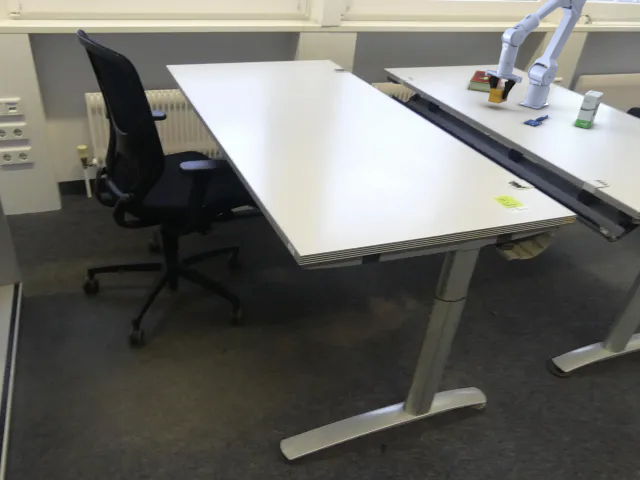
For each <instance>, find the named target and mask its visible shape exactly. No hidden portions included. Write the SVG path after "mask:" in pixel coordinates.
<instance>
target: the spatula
mask: <svg viewBox="0 0 640 480" xmlns="http://www.w3.org/2000/svg"><path fill="white" fill-rule="evenodd" d="M547 118H549V114H544V115H543V116H540V117H537V118H536V119H532V118H531V119H529V120H526V121H524V122H523V124H524V125H528V126H530V127H531V126H532V127H537V126H539V125H542V123H543V122H542V121H543V120H545V119H547Z"/></svg>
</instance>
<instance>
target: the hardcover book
mask: <svg viewBox="0 0 640 480" xmlns="http://www.w3.org/2000/svg"><path fill="white" fill-rule="evenodd" d="M485 72H486V70H485V71H484V70H475V71H474V73H473V74H472V77H471V78H470V80H469V81H470V83H469V87H468V88H467V90H469V91H476V92H482V93H489V94H490V90H491V89H490V83H489V80H488V79H489V78H490V77H491V76H486V75H485ZM502 80H503V79H501V78H500V80H499V82H498V85H497V86H501V85H500V84H501V82H502Z"/></svg>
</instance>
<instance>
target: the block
mask: <svg viewBox="0 0 640 480" xmlns="http://www.w3.org/2000/svg"><path fill="white" fill-rule="evenodd" d="M504 87H505V86H503V85H499V86H497V87H494V88H491V90H490V93H489V95H488V99H487V102H490V103H493V104H497V105H499V104H502V103H505V102H507V101H508V98H509V95H508V96H507V98H506V99H504V100H503V99H502V97H503V93H504Z"/></svg>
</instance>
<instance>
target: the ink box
mask: <svg viewBox="0 0 640 480" xmlns="http://www.w3.org/2000/svg"><path fill="white" fill-rule="evenodd" d="M603 97H604V92H602V91H596V90H589V91H586V93H585V94H584V96H583V100H582V101H581V105H580V109H579V112H578V114H577V117H576V120H575V122H574V127H579V128H583V129H589V128H590V127H591V126H592V125H593V124H594V122H595V119H596V116H597V113H598V110H599V107H600V106H601V105H600V104H601V101H602V98H603Z"/></svg>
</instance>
